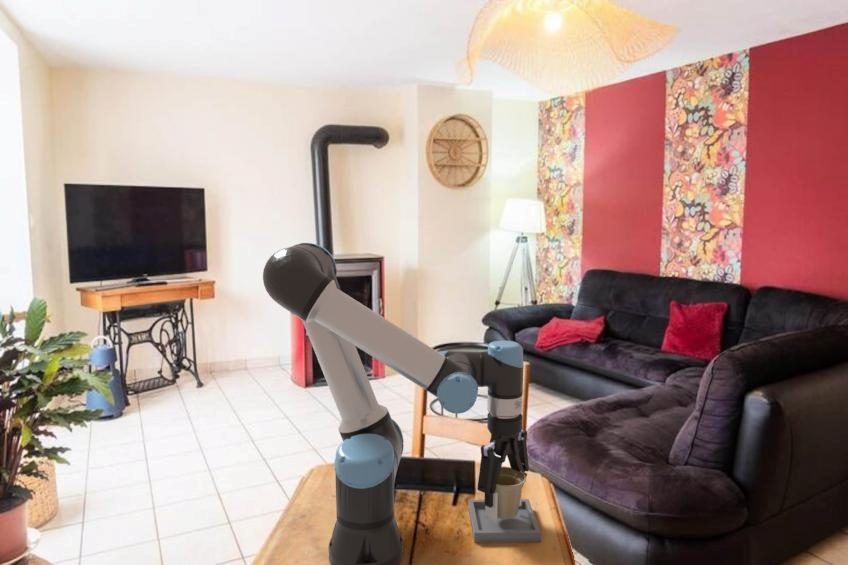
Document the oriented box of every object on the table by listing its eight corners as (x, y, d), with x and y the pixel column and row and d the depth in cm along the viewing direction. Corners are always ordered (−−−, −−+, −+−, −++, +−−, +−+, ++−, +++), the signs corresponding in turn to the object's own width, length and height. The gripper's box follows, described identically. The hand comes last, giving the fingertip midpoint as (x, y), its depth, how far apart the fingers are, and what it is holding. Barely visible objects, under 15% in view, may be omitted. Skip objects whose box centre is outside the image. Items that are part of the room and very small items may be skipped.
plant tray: (474, 542, 128) (474, 532, 128) (468, 508, 142) (468, 499, 142) (540, 542, 128) (540, 532, 128) (528, 508, 142) (528, 499, 142)
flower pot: (524, 502, 139) (524, 466, 138) (527, 524, 130) (527, 486, 128) (482, 501, 140) (483, 465, 139) (482, 522, 131) (482, 484, 129)
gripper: (488, 431, 121) (487, 537, 125) (546, 404, 136) (544, 499, 140) (459, 421, 127) (459, 523, 130) (519, 397, 142) (517, 489, 145)
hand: (503, 511), depth 135 cm, fingers closed on flower pot, 8 cm apart
